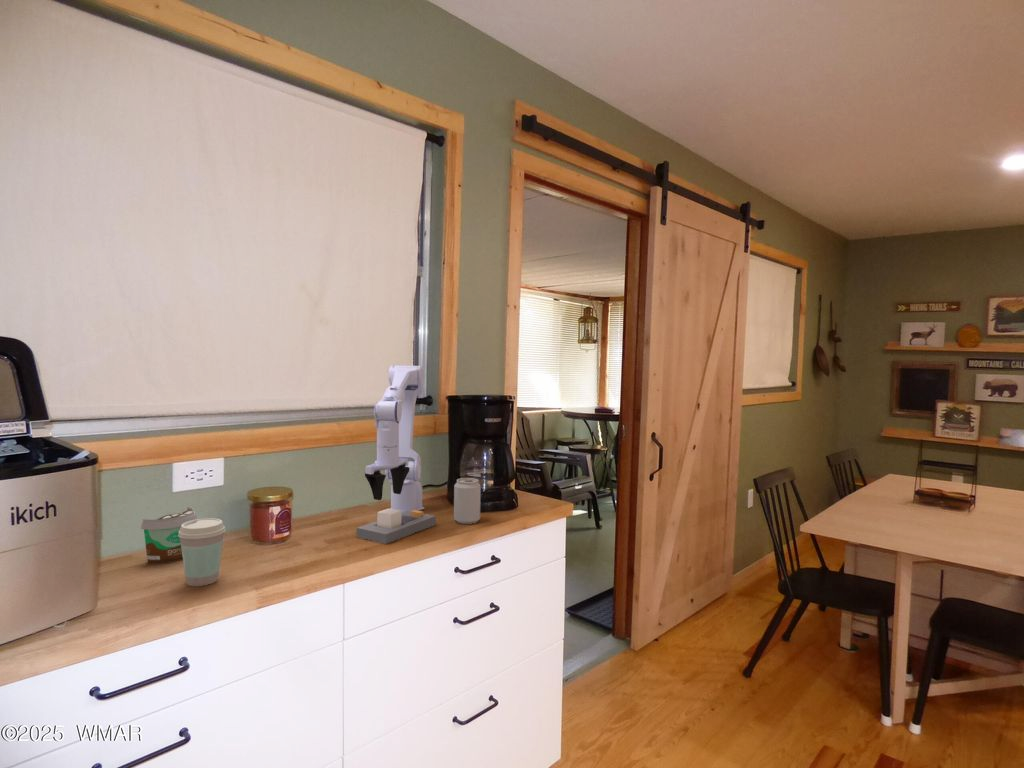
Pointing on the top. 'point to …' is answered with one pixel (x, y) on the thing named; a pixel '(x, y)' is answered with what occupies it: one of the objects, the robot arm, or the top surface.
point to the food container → (165, 536)
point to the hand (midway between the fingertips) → (387, 496)
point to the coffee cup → (201, 550)
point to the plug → (389, 518)
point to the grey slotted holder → (409, 525)
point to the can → (467, 500)
